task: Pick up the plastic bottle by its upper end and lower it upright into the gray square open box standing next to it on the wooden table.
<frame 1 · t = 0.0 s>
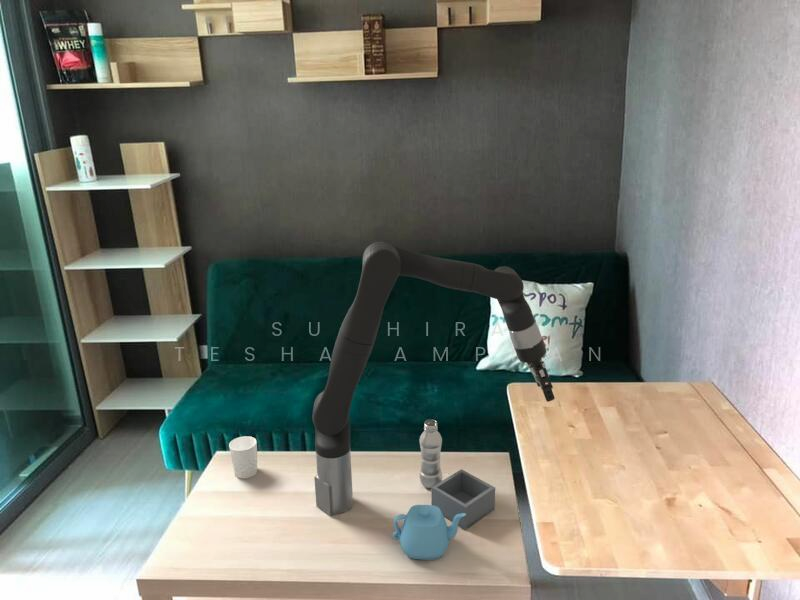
hand: (546, 392, 167), 31 cm above the table, tool tilted 20°, fingers open, 8 cm apart
white cup: (246, 472, 189), on the table
teapot: (429, 546, 157), on the table
gray square open box: (462, 509, 171), on the table
plastic bottle: (430, 485, 182), on the table
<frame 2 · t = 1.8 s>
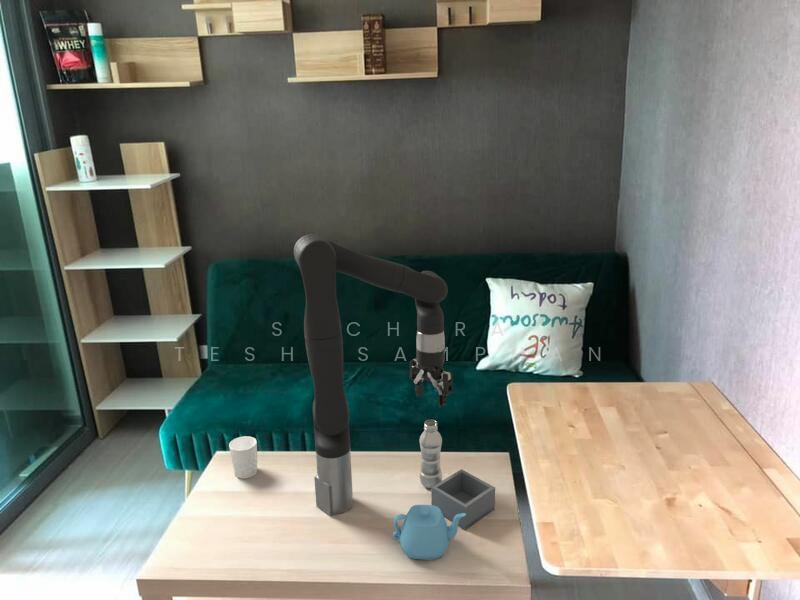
hand: (430, 400, 173), 27 cm above the table, tool pointing down, fingers open, 8 cm apart
nothing on the table moved.
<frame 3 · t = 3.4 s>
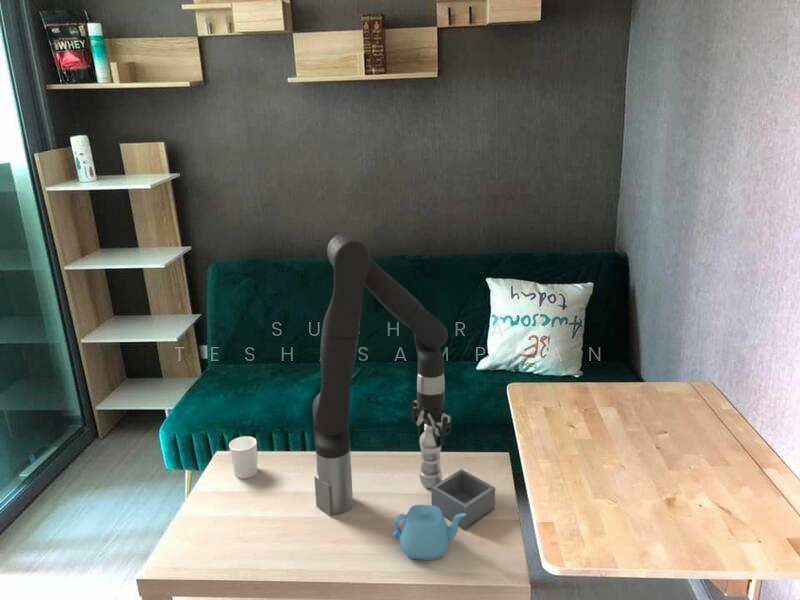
hand: (430, 441, 177), 14 cm above the table, tool pointing down, fingers closed on plastic bottle, 6 cm apart
plastic bottle: (430, 485, 182), on the table, touching gripper
everything else where it was.
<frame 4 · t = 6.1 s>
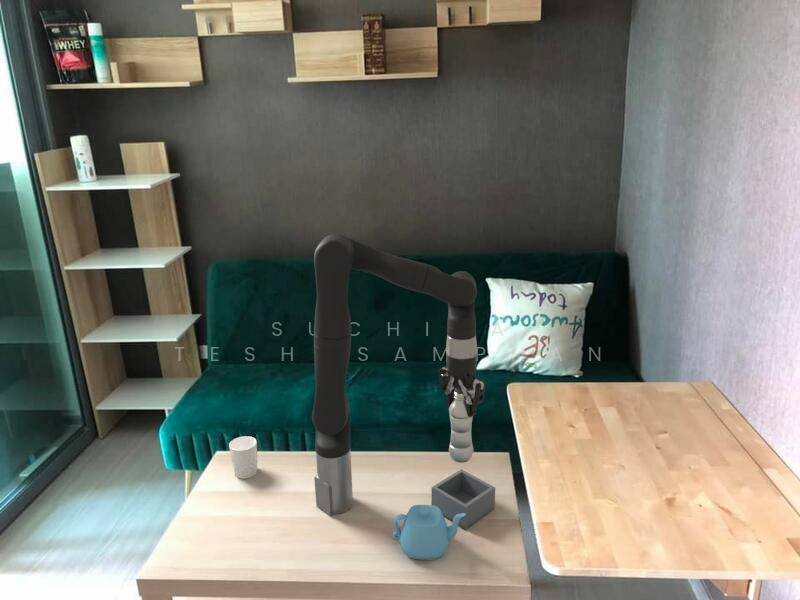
hand: (461, 411, 163), 29 cm above the table, tool pointing down, fingers closed on plastic bottle, 6 cm apart
plastic bottle: (461, 459, 167), point 15 cm above the table, touching gripper
everything else where it was.
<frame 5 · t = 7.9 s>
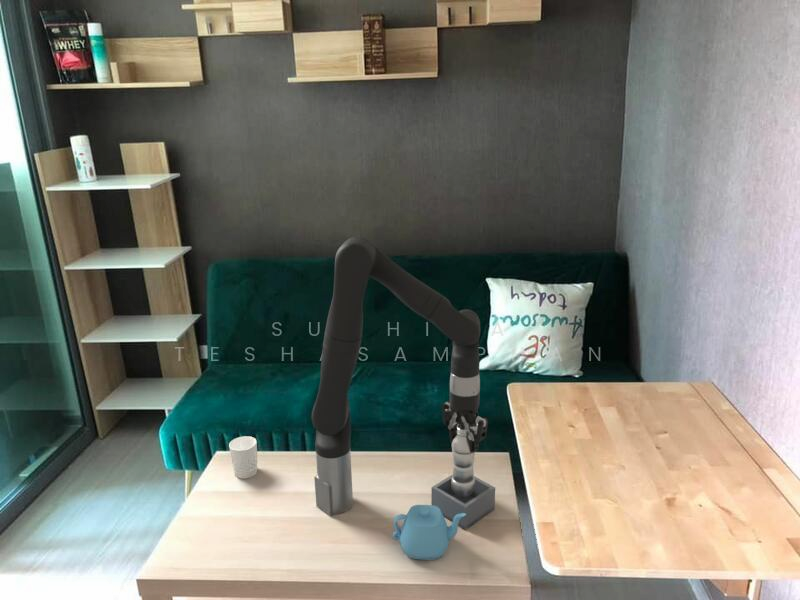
hand: (463, 446, 164), 20 cm above the table, tool pointing down, fingers closed on plastic bottle, 6 cm apart
plastic bottle: (462, 493, 169), point 5 cm above the table, touching gripper
everything else where it was.
when the fingers open (17 cm above the table, at t = 9.0 s): plastic bottle drops 2 cm, resting on gray square open box.
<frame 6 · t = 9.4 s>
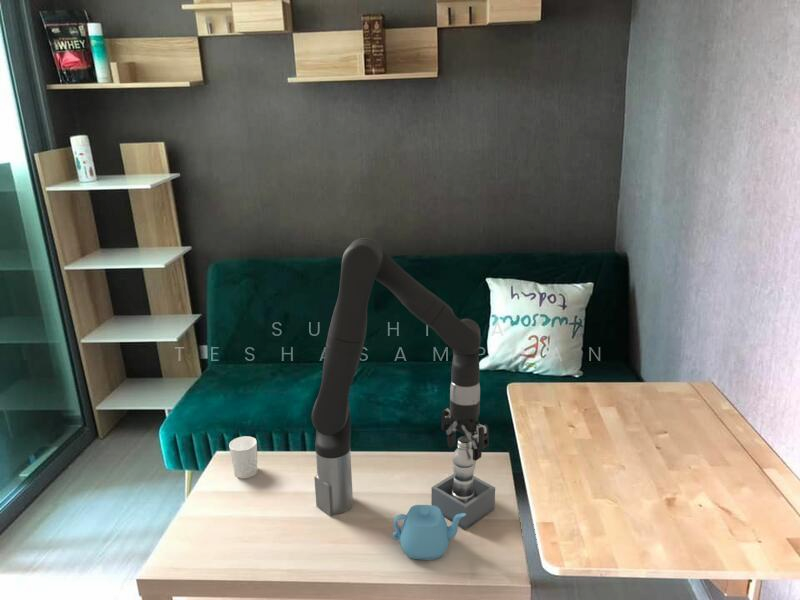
hand: (463, 452, 165), 18 cm above the table, tool pointing down, fingers open, 8 cm apart
plastic bottle: (462, 506, 170), point 1 cm above the table, touching gray square open box
everything else where it was.
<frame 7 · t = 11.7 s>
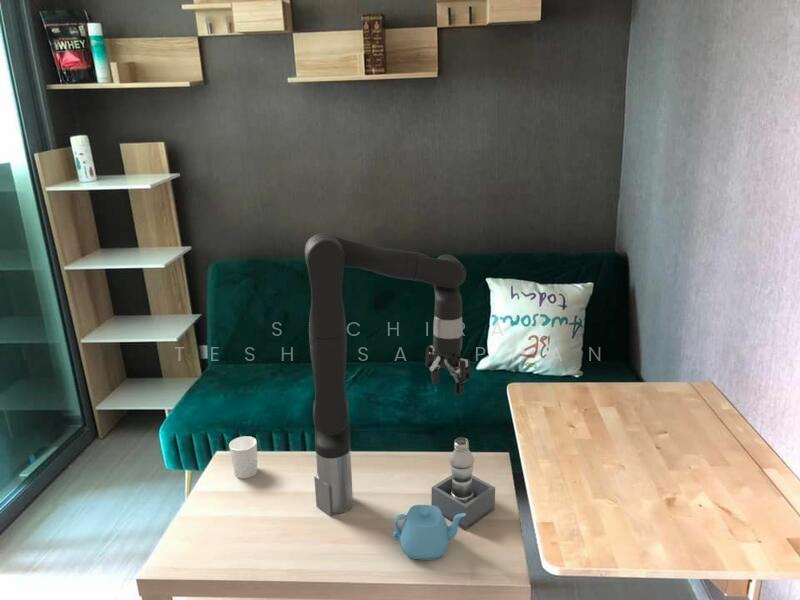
hand: (446, 388, 169), 32 cm above the table, tool pointing down, fingers open, 8 cm apart
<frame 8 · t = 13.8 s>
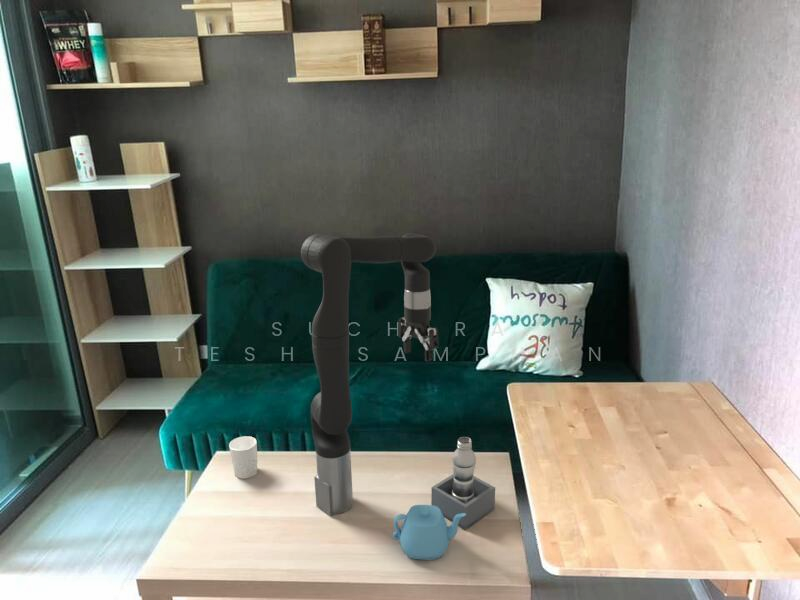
hand: (417, 356, 184), 34 cm above the table, tool pointing down, fingers open, 8 cm apart
nothing on the table moved.
at the end: plastic bottle 0.1 cm off-centre on the gray square open box, point 0.9 cm above the gray square open box's base; plastic bottle tilted 1°; the gripper is holding nothing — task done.
